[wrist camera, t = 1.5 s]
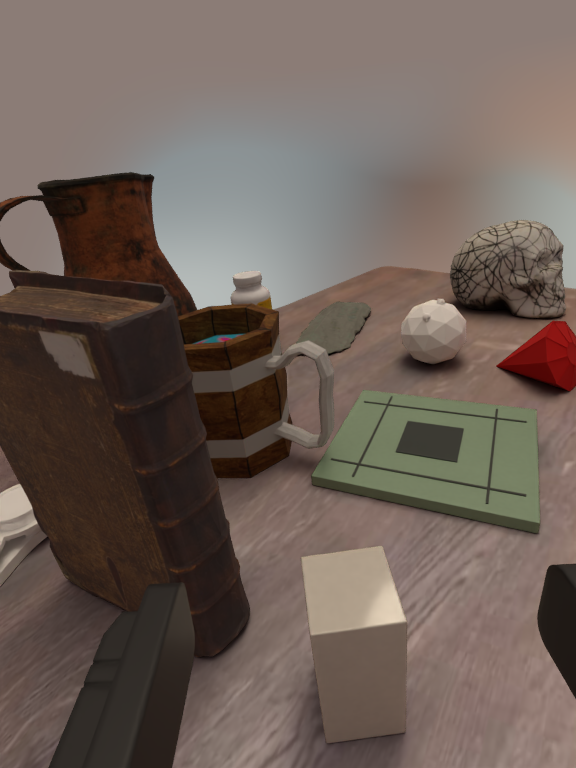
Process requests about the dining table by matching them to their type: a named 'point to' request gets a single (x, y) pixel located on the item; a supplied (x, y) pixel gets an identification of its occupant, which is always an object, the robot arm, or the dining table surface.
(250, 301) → the supplement bottle
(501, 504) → the grid board
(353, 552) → the beige rectangular block
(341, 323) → the stone slab
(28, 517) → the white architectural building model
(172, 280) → the pitcher
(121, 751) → the robot arm
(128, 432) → the book
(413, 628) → the dining table surface
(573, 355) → the gemstone
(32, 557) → the dining table surface
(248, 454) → the mug
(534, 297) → the sculpture
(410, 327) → the decorative ball
